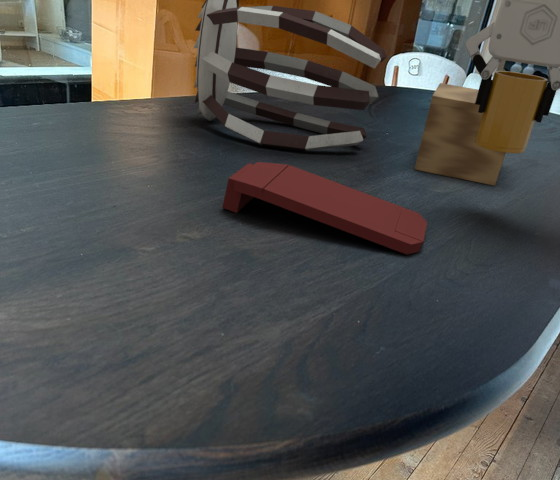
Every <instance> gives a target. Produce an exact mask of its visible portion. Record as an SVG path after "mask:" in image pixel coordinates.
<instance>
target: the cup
mask: <svg viewBox="0 0 560 480" xmlns="http://www.w3.org/2000/svg"><path fill="white" fill-rule="evenodd" d="M491 80H492V85H491V89H490V92H489V96H488V99H487V103H486V106H485V110H484V112H483V115H482V118H481V122H480V125H479V129H478V133H477V136H476V140H475V143H476V144H477V145H478V146H480V147H483V148H486V149H489V150H493V151H498V152H504V153H506V154H523V153H525V151H526V149H527V146H528V143H529V141H530V138H531V134H532V131H533V128H534V125H535V122H536V121H535V119H536V116H537V113H538V110H539V107H540V104H541V101H542V97H543V94H544V91H545V89H546V86H547V83H548V82H549V78H546V77H542V76H538V75H534V74H529V73H523V72H517V71H509V70H508V71H507V70H495V71H494V72H493V74H492V79H491Z"/></svg>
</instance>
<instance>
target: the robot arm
mask: <svg viewBox="0 0 560 480" xmlns="http://www.w3.org/2000/svg"><path fill="white" fill-rule="evenodd" d="M495 16H496V17H495V20H494V22H492V23H491V24H489V25H488V26H486V27H485V28H483V29H481V30H480V31H479V32H477V33H476V34H474V35H472V36H471V37H470V38H468V39H467V40H466V41H465V44H464V46H465V48H466V51H467V53H468V55H469V57H470V59H471V61H472V64H473V65H474V68H475V69H476V71H477V72H478V74H479V76H480V78H481V79H480V83H479V87H478V94H477V98H476V101H475V104H477V105H480V106H479V110H478V113H482V112H484V110H485V106H486V103H487V99H488V96H489V92H490V89H491V85H492V79H493V74H494V72H495V71H496V70H497V68H498V67H499V66H500V65H501V63H502V62H503V61H507V62H513V63H521V64H528V65H533V66H534V65H535V66H541V67H547V74H548V76H547V77H548V82H547V86H546V89H545V91H544V94H543V97H542V101H541V104H540V107H539V110H538V113H537V116H536V119H535V122H536V123H542V120H543V117H544V116H546V117H547V116H549V114H550V112H551V108H552V105H553V103H554V99H555V97H556V96H555V95H556V93H557V91H558V90H560V0H500V4H499V7H498V10H497V13H496V15H495ZM488 39H489V41H488V49H487V50H488V53H489V54H490V56H491V58H490V59H489V60H488V62H486V61H485V59H484V57H483V55H482V53H481V51H480V48H479V46H480V45H481V43H483V42H485V41H487V40H488Z"/></svg>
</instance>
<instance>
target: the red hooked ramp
mask: <svg viewBox="0 0 560 480" xmlns="http://www.w3.org/2000/svg"><path fill="white" fill-rule="evenodd" d="M254 198H256V199H259V200H262V201H264V202H266V203H269V204H272V205H274V206H276V207H280V208H282V209H285V210H288V211H290V212H293V213H295V214H298V215H301V216H304V217H306V218H309V219H311V220H314V221H317V222H320V223H322V224H324V225H328V226H330V227H332V228H336V229H338V230H341V231H342V232H346V233H348V234H351V235H354V236H356V237H359V238H362V239H365V240H367V241H370V242H372V243H375V244H377V245H380V246H383V247H385V248H387V249H391V250H394V251H396V252H398V253H401V254H404V255H410V254H415V253H419V252H420V251H421V248H422V246H423V244H424V241H425V236H426V232H427V227H428V221H427V220H426V219H425V218H424V217H423V216H422V214H420V213H419V212H417V211H414V210H412V209H408V208H407V207H404V206H400V205H398V204H396V203H392V202H390V201H387V200H384V199H382V198H379V197H377V196H374V195H371V194H368V193H366V192H363V191H360V190H357V189H355V188H352V187H350V186H347V185H344V184H342V183H338V182H336V181H333V180H330V179H328V178H325V177H323V176H320V175H317V174H315V173H312V172H310V171H306V170H304V169H302V168H299V167H296V166H293V165H289V164H286V163H285V164H284V163H275V162H274V163H273V162H263V161H257V162H255V163H251V162H249V163H247V164H246V165H244V166H243V167H242V168H240V169H239V170H237V171H236V172H235V173H233V174H232V175H231V176H229V177H228V180H227V185H226V188H225V193H224V198H223V201H222V208H223V209H225V210H228V211H231V212H233V213H236V214H237V213H239V212H240V211H241V210H242V209H243V208H244V207H245V206H246V205H247V204H249V203H250V201H252V200H253V199H254Z"/></svg>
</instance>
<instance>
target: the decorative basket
mask: <svg viewBox="0 0 560 480" xmlns="http://www.w3.org/2000/svg"><path fill="white" fill-rule="evenodd" d="M198 18H199V19H200V21H199V23H198V25H197V26H196V27H195V29H194V31H195V32H199V34H198V37H197V39H196V42H195V44H194V46H193V49H197V50H196V51H197V53H196V59H195V64H194V68H196V77H195V81H194V87H193V89H194V88H196V93H195V94H196V95H195V100H194V103H198V109H197V116H199V115H202V117H203V118H204V119H206V120H207V121H209V122H210V121H213V120H215V118H217V119H218V121H220V123H221V124H222V125H223V126H224V127H225V128H226V129H228V130H229V131H231V132H233V133H236V134H238V135H240V136H242V137H244V138H246V139H248V140H250V141H253V142H255V143H257V144H258V145H260V146H262V147H263V146H264V147H270V148H271V147H272V148H280V149H286V150H287V149H288V150H295V151H303V152H309V151H310V152H311V151H318V150H328V149H335V148H336V149H337V148H345V147H353V146H359V144H361V143H362V142H363V141H364V140H365V139H366V138H367V137H368V135H367V133H366V130H365V127H360V126H355V125H350V124H345V123H341V122H336V121H332V120H331V121H330V120H326V119H323V118H319V117H315V116H311V115H306V114H303V113H300V112H295V111H292V110H289V109H285V108H283V107H278V106H275V105H271V104H268V103H265V102H261V101H259V100H255V99H252V98H249V97H246V96H243V95H241V94H237V93H234V92H231V91H229V88H230V83H231V84H234V85H237V86H239V87H241V88H245V89H247V90H250V91H253V92H256V93H259V94H262V95H264V96H266V97H271V98H272V97H273V98H277V99H283V100H287V101H292V102H296V103H301V104H305V105H306V104H307V105H311V106H319V107H327V108H328V107H329V108H339V109H348V110H358V111H365V110H366V109H367V107H368V105H372V104H373V103H374V102H375V101H376V100H377V99H378V98H379V94H378V91H377V87H376V86H375V85H374V84H372V83H369V82H367V81H365V80H362V79H360V78H358V77H356V76H353V75H352V74H350V73H348V72H344V71H343V70H339V69H336V68H333V67H330V66H327V65H324V64H321V63H317V62H314V61H311V60H307V59H303V58H298V57H294V56H289V55H284V54H279V53H275V52H270V51H266V50H265V51H264V50H257V49H249V48H243V47H237V37H238V23H240V24H241V23H242V24H247V25H248V24H249V25H254V26H262V27H268V28H276V29H280V30H282V31H286V32H288V33H291V34H294V35H297V36H300V37H302V38H306V39H309V40H312V41H314V42H318V43H320V44H323V45H325V46H328V47H331V48H332V49H334V50H335V51H338V52H340V53H342V54H344V55H346V56H348V57H350V58H352V59H354V60H356V61H358V62H360V63H362V64H364V65H366V66H368V67H370V68H373V69H374V70H375V69H376V68H377V66H378V65H379V64H380V63H383V61H385V60H386V59H387V58H388V55H387V54H386V51H385V49H384V48H382V47H381V46H380V45H378V44H377V43H376V42H375V41H373V39H370V38H369V37H368V36H367V35H365V34H364V33H362V32H361V31H359V30H358V29H357V28H356V27H355V26H353V25H352V24H349V23H347V22H344V21H341V20H339V19H336V18H335V17H331V16H329V15H327V14H325V13H322V12H318V11H317V10H310V9H301V8H294V7H285V6H278V5H261V6H260V5H259V6H238V3H237V0H205V1H204V2H203V4H202V6H201V11H200V12H199V14H198V15H197V19H198ZM256 69H258V70H256ZM260 70H266V71H271V72H275V73H280V74H286V75H290V76H295V77H299V78H304V79H307V80H310V81H313V82H317V83H320V84H314V83H310V82H305V81H300V80H296V79H292V78H287V77H286V78H285V77H281V76H276V75H271V74H268V73H265V72H262V71H260ZM321 84H323V85H321ZM223 106H226V107H230V108H233V109H236V110H239V111H243V112H246V113H249V114H252V115H254V116H259V117H262V118H266V119H269V120H272V121H276V122H279V123H283V124H285V125H288V126H289V125H290V126H293V127H296V128H300V129H304V130H308V131H312V132H315V133H320V134H316V135H301V134H295V133H285V132H279V131H270V130H263V129H262V128H260V127H258V126H255V125H253V124H251V123H249V122H247V121H245V120H242V119H241V118H238V117H236V116H234V115H232V114H230V113H229V112H228V111H227V110H226V109H225V108H224V107H223Z"/></svg>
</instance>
